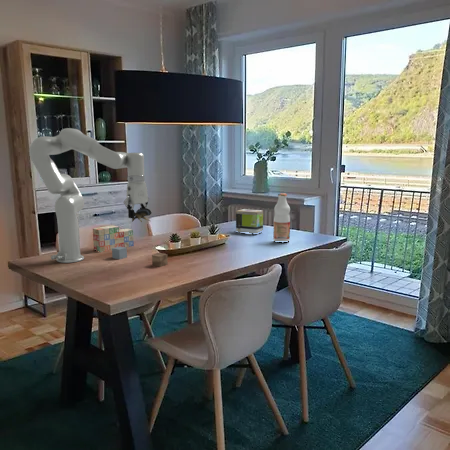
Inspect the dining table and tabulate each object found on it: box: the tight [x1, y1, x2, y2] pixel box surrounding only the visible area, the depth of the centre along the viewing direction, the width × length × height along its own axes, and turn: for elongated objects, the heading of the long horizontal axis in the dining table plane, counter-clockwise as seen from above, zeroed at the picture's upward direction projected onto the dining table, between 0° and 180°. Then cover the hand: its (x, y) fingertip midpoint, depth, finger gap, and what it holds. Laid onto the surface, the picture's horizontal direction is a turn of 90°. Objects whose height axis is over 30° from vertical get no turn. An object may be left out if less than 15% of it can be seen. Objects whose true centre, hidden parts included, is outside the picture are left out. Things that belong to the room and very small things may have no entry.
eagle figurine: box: [131, 207, 152, 223], centre depth 211 cm, size 8×7×9 cm
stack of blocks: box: [92, 224, 135, 253], centre depth 240 cm, size 21×6×12 cm, turn 137°
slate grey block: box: [111, 247, 128, 260], centre depth 219 cm, size 5×5×5 cm
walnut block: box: [151, 252, 169, 268], centre depth 206 cm, size 5×5×5 cm
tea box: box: [235, 208, 264, 233], centre depth 282 cm, size 15×10×15 cm, turn 60°
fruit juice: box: [272, 193, 291, 242], centre depth 254 cm, size 9×9×28 cm
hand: (137, 216), depth 209 cm, fingers closed on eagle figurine, 7 cm apart
